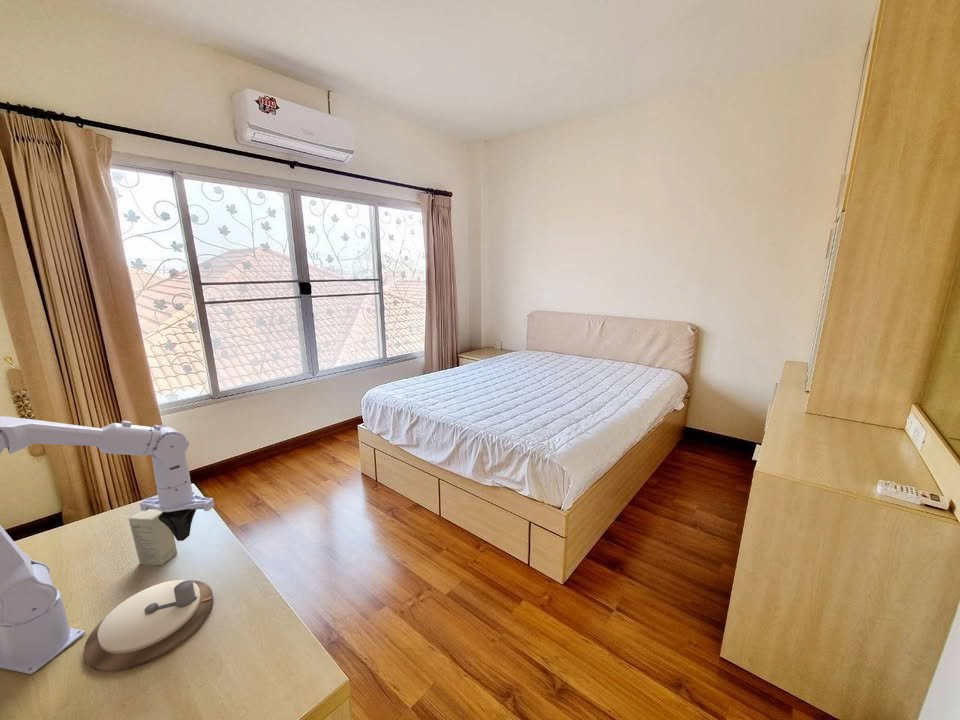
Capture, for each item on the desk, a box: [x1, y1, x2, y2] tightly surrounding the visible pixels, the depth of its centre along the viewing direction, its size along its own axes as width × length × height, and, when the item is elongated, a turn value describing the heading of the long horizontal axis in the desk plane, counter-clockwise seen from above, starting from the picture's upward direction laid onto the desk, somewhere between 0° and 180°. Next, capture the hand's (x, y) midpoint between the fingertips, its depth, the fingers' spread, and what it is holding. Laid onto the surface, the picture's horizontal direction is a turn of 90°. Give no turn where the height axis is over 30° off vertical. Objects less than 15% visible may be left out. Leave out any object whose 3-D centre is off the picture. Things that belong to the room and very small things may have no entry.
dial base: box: [83, 579, 215, 673], centre depth 74 cm, size 19×19×1 cm
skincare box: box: [128, 509, 178, 566], centre depth 90 cm, size 6×4×12 cm
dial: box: [98, 579, 201, 654], centre depth 73 cm, size 15×15×5 cm
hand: (183, 537), depth 85 cm, fingers closed
